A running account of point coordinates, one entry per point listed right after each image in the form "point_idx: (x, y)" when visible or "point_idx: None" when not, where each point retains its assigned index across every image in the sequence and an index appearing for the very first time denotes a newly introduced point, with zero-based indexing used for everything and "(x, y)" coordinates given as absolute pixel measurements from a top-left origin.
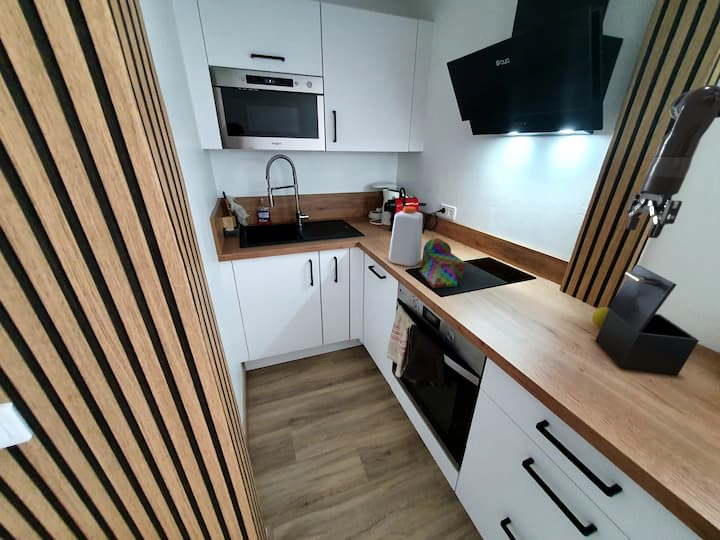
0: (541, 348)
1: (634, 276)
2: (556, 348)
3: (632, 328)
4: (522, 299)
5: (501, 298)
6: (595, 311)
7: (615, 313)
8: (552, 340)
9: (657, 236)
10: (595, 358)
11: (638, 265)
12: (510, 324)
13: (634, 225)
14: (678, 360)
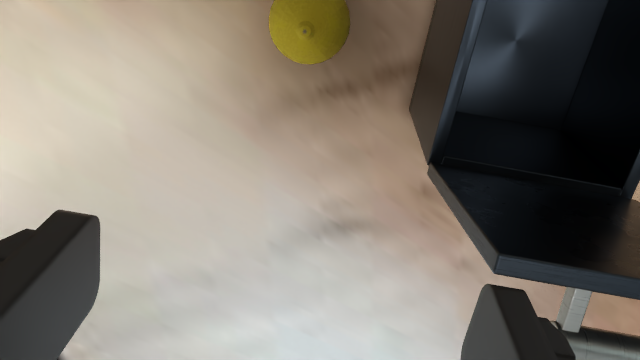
0: (439, 313)
1: None
2: (442, 270)
3: None
4: (98, 203)
5: (107, 283)
6: (289, 58)
7: (468, 166)
8: (399, 257)
9: (522, 301)
10: None
11: (515, 275)
12: (305, 337)
13: (70, 278)
14: None
